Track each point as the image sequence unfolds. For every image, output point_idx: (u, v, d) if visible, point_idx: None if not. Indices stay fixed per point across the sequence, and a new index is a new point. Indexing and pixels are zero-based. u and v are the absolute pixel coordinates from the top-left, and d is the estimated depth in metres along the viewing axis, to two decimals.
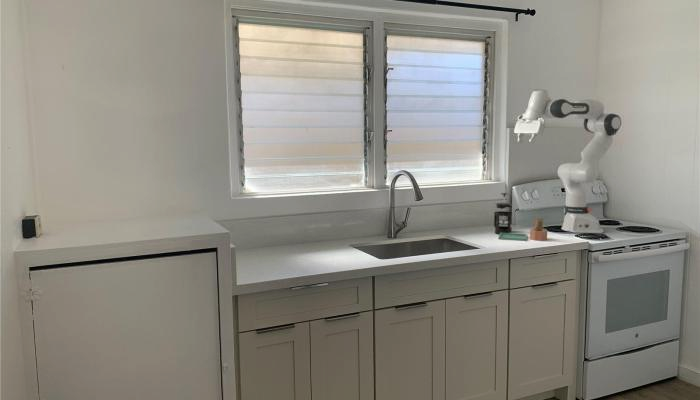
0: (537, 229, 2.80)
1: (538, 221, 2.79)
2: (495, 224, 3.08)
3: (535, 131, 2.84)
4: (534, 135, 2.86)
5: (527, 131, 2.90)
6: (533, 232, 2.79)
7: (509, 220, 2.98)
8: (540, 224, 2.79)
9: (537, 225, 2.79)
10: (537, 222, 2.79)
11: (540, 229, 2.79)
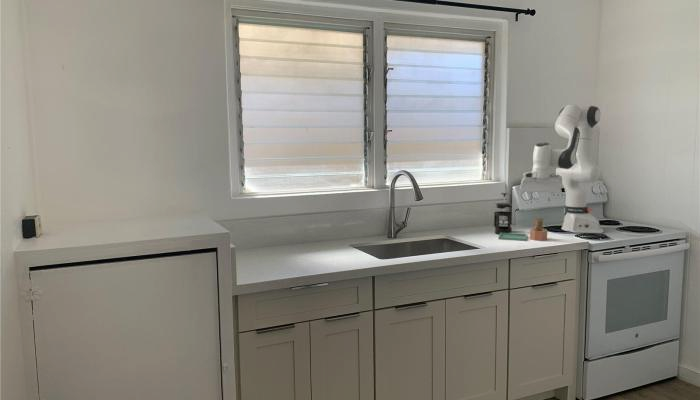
0: (537, 229, 2.80)
1: (538, 221, 2.79)
2: (495, 224, 3.08)
3: (556, 190, 2.74)
4: None
5: (544, 189, 2.76)
6: (533, 232, 2.79)
7: (509, 220, 2.98)
8: (540, 224, 2.79)
9: (537, 225, 2.79)
10: (537, 222, 2.79)
11: (540, 229, 2.79)
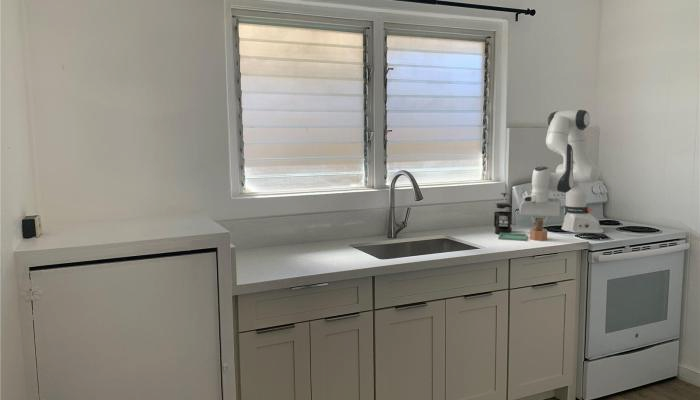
0: (537, 229, 2.80)
1: (538, 221, 2.79)
2: (495, 224, 3.08)
3: (555, 214, 2.75)
4: (547, 217, 2.78)
5: (543, 213, 2.78)
6: (533, 232, 2.79)
7: (509, 220, 2.98)
8: (540, 224, 2.79)
9: (537, 225, 2.79)
10: (537, 222, 2.79)
11: (540, 229, 2.79)
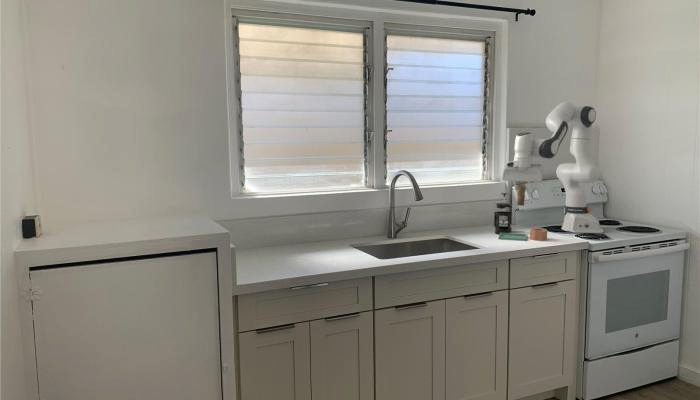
0: (519, 195, 2.80)
1: (520, 187, 2.79)
2: (495, 224, 3.08)
3: (537, 180, 2.76)
4: None
5: (525, 179, 2.78)
6: (533, 232, 2.79)
7: (509, 220, 2.98)
8: (522, 190, 2.79)
9: (519, 191, 2.80)
10: (519, 188, 2.80)
11: (522, 195, 2.80)
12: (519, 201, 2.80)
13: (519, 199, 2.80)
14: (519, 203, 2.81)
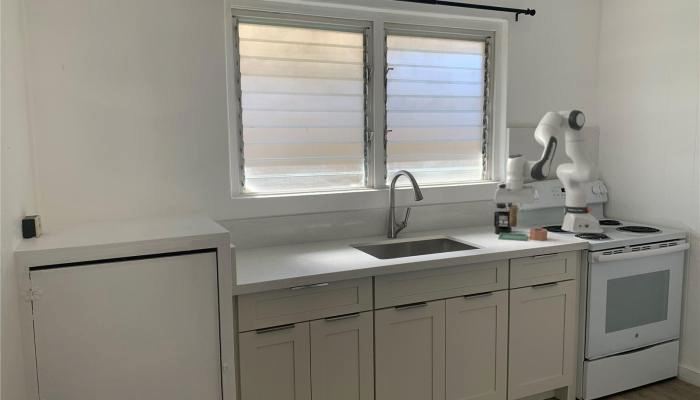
0: (511, 216, 2.83)
1: (513, 208, 2.82)
2: (495, 224, 3.08)
3: (529, 201, 2.79)
4: None
5: (517, 200, 2.81)
6: (533, 232, 2.79)
7: (509, 220, 2.98)
8: (514, 211, 2.82)
9: (511, 212, 2.83)
10: (511, 209, 2.83)
11: (514, 216, 2.83)
12: (511, 222, 2.83)
13: (511, 220, 2.83)
14: (511, 224, 2.84)
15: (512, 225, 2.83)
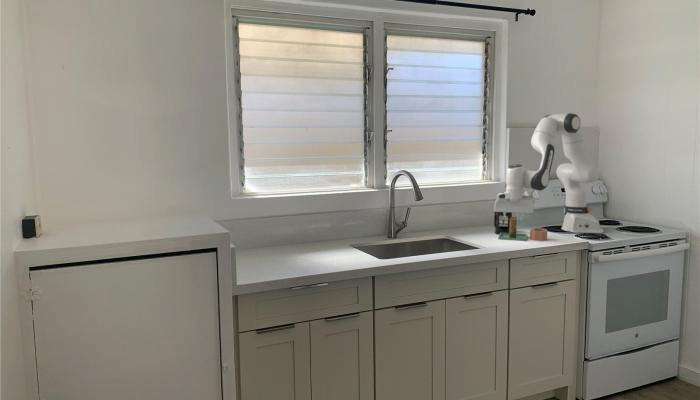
0: (511, 228, 2.84)
1: (512, 220, 2.83)
2: (495, 224, 3.08)
3: (529, 211, 2.80)
4: (523, 214, 2.82)
5: (517, 210, 2.82)
6: (533, 232, 2.79)
7: (509, 220, 2.98)
8: (514, 223, 2.83)
9: (511, 224, 2.84)
10: (511, 221, 2.84)
11: (514, 228, 2.84)
12: (511, 234, 2.84)
13: (511, 232, 2.84)
14: (511, 236, 2.84)
15: (512, 237, 2.84)
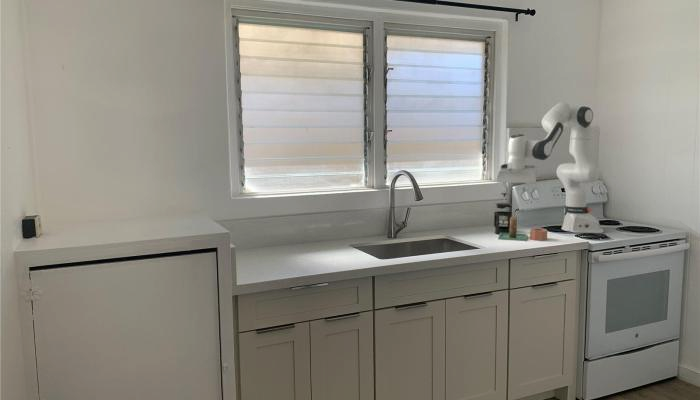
0: (511, 228, 2.84)
1: (512, 220, 2.83)
2: (495, 224, 3.08)
3: (531, 181, 2.78)
4: (528, 184, 2.80)
5: (519, 180, 2.80)
6: (533, 232, 2.79)
7: (509, 220, 2.98)
8: (514, 223, 2.83)
9: (511, 224, 2.84)
10: (511, 221, 2.84)
11: (514, 228, 2.84)
12: (511, 234, 2.84)
13: (511, 232, 2.84)
14: (511, 236, 2.85)
15: (512, 237, 2.84)
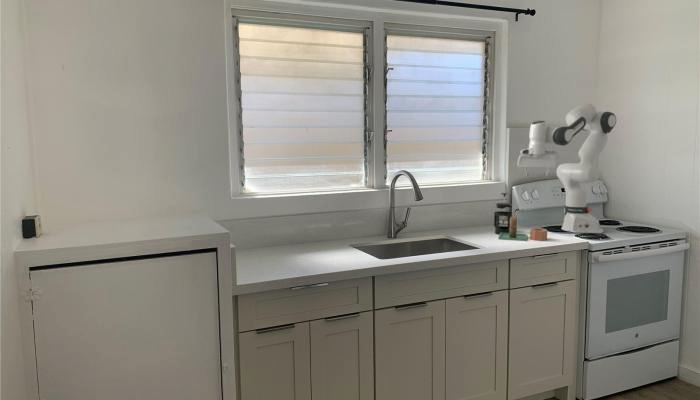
0: (511, 228, 2.84)
1: (512, 220, 2.83)
2: (495, 224, 3.08)
3: (552, 166, 2.87)
4: None
5: (540, 165, 2.89)
6: (533, 232, 2.79)
7: (509, 220, 2.98)
8: (514, 223, 2.83)
9: (511, 224, 2.84)
10: (511, 221, 2.84)
11: (514, 228, 2.84)
12: (511, 234, 2.84)
13: (511, 232, 2.84)
14: (511, 236, 2.85)
15: (512, 237, 2.84)
